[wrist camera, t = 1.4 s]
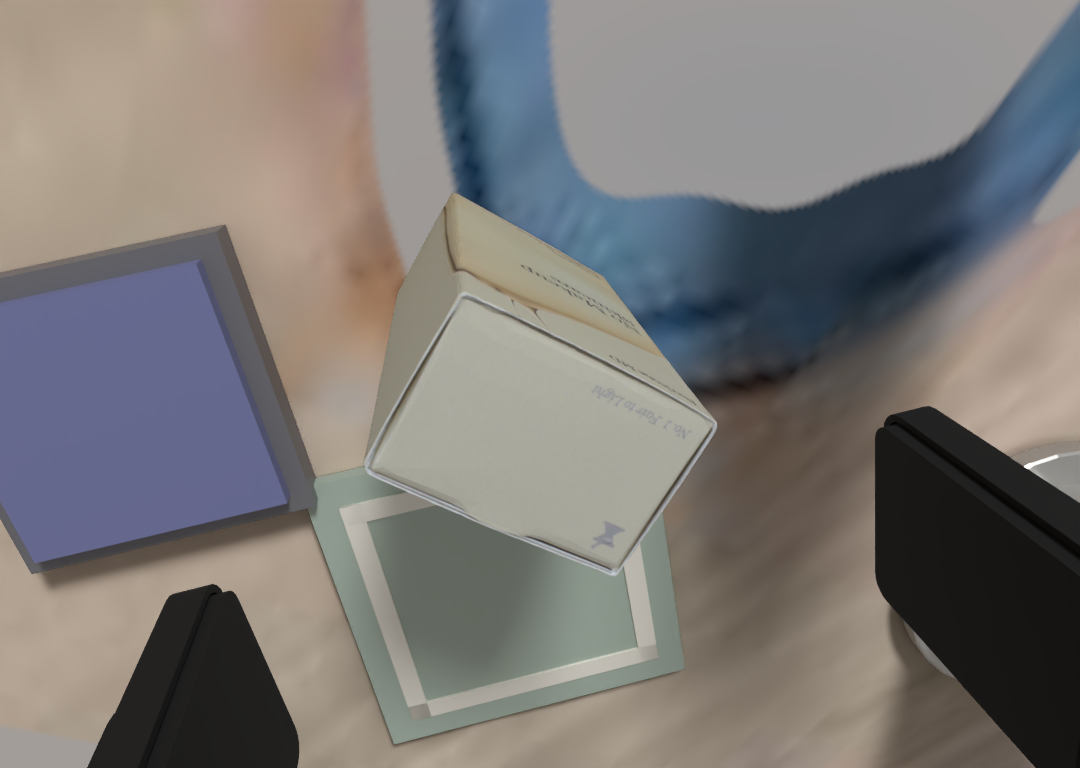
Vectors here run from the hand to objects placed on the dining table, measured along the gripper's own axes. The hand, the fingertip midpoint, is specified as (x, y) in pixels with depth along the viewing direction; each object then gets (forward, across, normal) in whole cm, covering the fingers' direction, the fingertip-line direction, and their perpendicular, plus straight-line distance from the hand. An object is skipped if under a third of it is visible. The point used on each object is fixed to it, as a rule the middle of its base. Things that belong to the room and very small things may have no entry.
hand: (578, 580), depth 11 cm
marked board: (+16, +2, +12) cm, 21 cm away
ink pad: (+17, +12, +1) cm, 21 cm away
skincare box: (+17, 0, 0) cm, 17 cm away
